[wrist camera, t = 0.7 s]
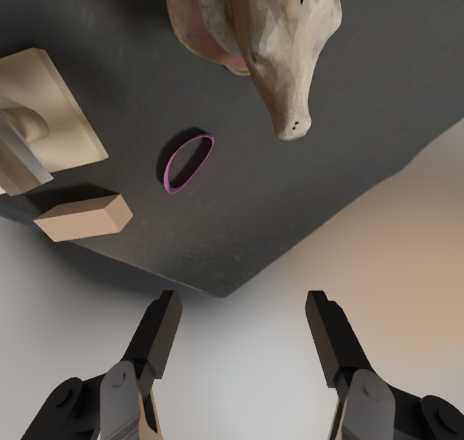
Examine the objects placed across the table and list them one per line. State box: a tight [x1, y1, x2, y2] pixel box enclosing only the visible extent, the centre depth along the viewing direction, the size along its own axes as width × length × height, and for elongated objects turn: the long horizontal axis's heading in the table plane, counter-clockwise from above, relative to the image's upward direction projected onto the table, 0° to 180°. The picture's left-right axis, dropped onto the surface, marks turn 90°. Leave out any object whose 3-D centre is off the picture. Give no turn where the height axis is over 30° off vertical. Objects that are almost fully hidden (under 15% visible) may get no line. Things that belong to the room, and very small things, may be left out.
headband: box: [164, 134, 214, 194], centre depth 27 cm, size 11×4×2 cm, turn 139°
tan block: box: [33, 194, 133, 242], centre depth 30 cm, size 4×12×5 cm, turn 100°
